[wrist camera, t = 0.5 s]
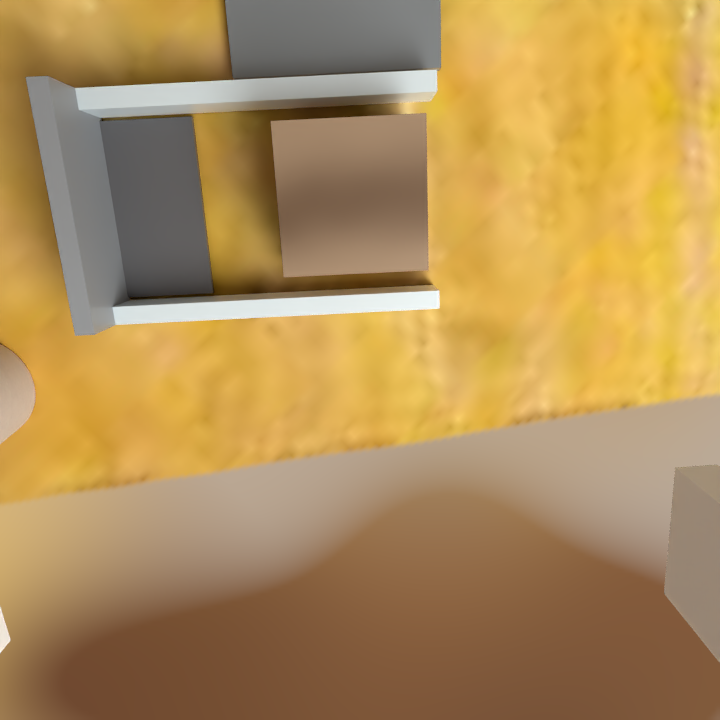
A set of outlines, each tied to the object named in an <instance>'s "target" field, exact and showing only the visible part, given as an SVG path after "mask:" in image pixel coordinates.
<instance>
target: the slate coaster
mask: <svg viewBox="0 0 720 720" xmlns="http://www.w3.org/2000/svg"><path fill="white" fill-rule="evenodd" d="M225 6H226V16H227V26H228V36H229V46H230V55H231V65H232V75H233V79H234V80H241V79H261V78H280V77H300V76H319V75H339V74H358V73H378V72H397V71H416V70H436V69H437V71H439V70H440V68H441V14H440V0H225Z"/></svg>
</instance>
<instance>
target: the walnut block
mask: <svg viewBox="0 0 720 720" xmlns="http://www.w3.org/2000/svg"><path fill="white" fill-rule="evenodd" d="M271 132H272V144H273V156H274V167H275V179H276V191H277V203H278V215H279V227H280V239H281V251H282V262H283V274H284V277H301V276H321V275H342V274H362V273H383V272H403V271H423V270H428V201H427V131H426V113H420V114H400V115H380V116H360V117H340V118H320V119H300V120H280V121H271Z"/></svg>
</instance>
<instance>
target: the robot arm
mask: <svg viewBox="0 0 720 720" xmlns="http://www.w3.org/2000/svg"><path fill="white" fill-rule="evenodd" d="M664 594H665V595H666V596H667V597H668V599H669V600H670V601H671V603H672V604H673V605H674V606H675V608H676V609H677V610H678V611H679V613H680V614H681V615H682V616H683V617H684V619H685V620H686V621H687V623H688V624H689V625H690V626H691V627H692V629H693V630H694V631H695V632H696V633H697V635H698V636H699V637H700V639H701V640H702V641H703V642H704V644H705V645H706V646H707V647H708V649H709V650H710V651H711V652H712V654H713V655H714V656H715V657H716V659H717V660H718V661H719V662H720V467H719V466H718V465H705V466H692V467H680V468H679V467H678V468H675V477H674V488H673V499H672V511H671V522H670V533H669V544H668V555H667V567H666V578H665V589H664ZM9 641H10V637H9V634H8V630H7V627H6V624H5V621H4V617H3V614H2V611H1V607H0V653H1V651H2V650H3V649H4V648H5V646H6V645H7V644H8V643H9Z"/></svg>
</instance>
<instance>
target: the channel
mask: <svg viewBox="0 0 720 720" xmlns="http://www.w3.org/2000/svg"><path fill="white" fill-rule="evenodd" d="M26 82H27V87H28V92H29V97H30V103H31V108H32V113H33V118H34V123H35V129H36V134H37V139H38V144H39V149H40V155H41V160H42V165H43V170H44V176H45V181H46V186H47V191H48V196H49V202H50V207H51V212H52V217H53V222H54V228H55V233H56V238H57V243H58V248H59V254H60V259H61V264H62V269H63V275H64V280H65V285H66V290H67V295H68V301H69V306H70V311H71V316H72V321H73V327H74V332H75V336H77V335H95V334H97V333H99V332H101V331H103V330H106V329H108V328H110V327H112V326H114V325H122V324H141V323H161V322H181V321H201V320H221V319H241V318H261V317H281V316H301V315H321V314H341V313H361V312H380V311H400V310H420V309H439V290H438V289H437V288H436V287H435V286H434V285H416V286H397V287H377V288H357V289H337V290H317V291H297V292H277V293H258V294H238V295H218V296H198V297H178V298H158V299H138V300H130V297H144V296H164V295H184V294H204V293H214V288H213V280H212V271H211V263H210V255H209V247H208V238H207V230H206V222H205V213H204V205H203V197H202V188H201V180H200V172H199V163H198V155H197V147H196V138H195V130H194V122H193V117H173V118H153V119H134V120H114V121H102V120H101V118H115V117H134V116H154V115H173V114H193V113H212V112H232V111H251V110H271V109H290V108H310V107H329V106H349V105H368V104H388V103H407V102H427V101H431V100H432V98H433V97H434V95H435V94H436V92H437V69H436V70H416V71H397V72H378V73H358V74H339V75H319V76H300V77H280V78H261V79H241V80H222V81H203V82H183V83H164V84H144V85H125V86H105V87H86V88H74V87H72V86H69V85H67V84H65V83H63V82H60V81H58V80H56V79H54V78H51V77H49V76H35V77H26Z"/></svg>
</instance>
